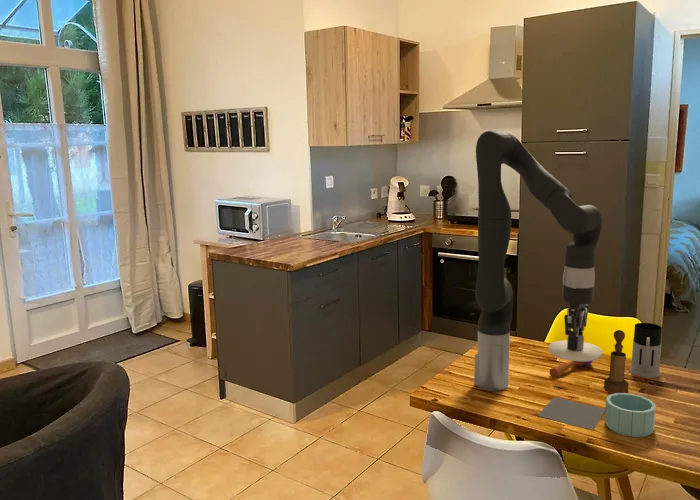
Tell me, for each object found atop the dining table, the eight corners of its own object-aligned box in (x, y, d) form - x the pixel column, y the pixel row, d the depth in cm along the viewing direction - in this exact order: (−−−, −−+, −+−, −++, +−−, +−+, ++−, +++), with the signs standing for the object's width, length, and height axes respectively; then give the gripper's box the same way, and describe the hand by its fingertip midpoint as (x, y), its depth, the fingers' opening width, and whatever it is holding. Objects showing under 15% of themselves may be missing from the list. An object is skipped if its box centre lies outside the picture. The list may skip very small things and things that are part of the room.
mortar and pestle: (630, 395, 165) (634, 334, 162) (606, 393, 166) (610, 333, 163) (624, 385, 172) (628, 327, 168) (601, 384, 173) (604, 326, 170)
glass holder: (660, 369, 183) (663, 323, 180) (662, 386, 171) (665, 337, 168) (629, 365, 187) (632, 320, 184) (629, 381, 174) (632, 334, 172)
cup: (600, 431, 145) (602, 405, 144) (610, 414, 154) (612, 389, 153) (649, 443, 139) (651, 416, 137) (657, 425, 147) (658, 399, 146)
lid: (542, 354, 150) (542, 338, 149) (557, 340, 160) (557, 325, 159) (594, 365, 142) (595, 347, 142) (607, 349, 153) (608, 333, 152)
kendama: (544, 363, 181) (579, 344, 192) (547, 381, 181) (582, 361, 193) (561, 365, 176) (596, 345, 187) (564, 383, 176) (599, 363, 188)
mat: (537, 417, 153) (537, 415, 153) (553, 398, 164) (554, 396, 164) (592, 431, 145) (592, 430, 145) (606, 410, 156) (606, 409, 156)
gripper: (571, 276, 156) (568, 336, 159) (555, 287, 145) (551, 352, 148) (600, 279, 151) (597, 342, 154) (586, 291, 140) (582, 358, 143)
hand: (575, 346), depth 151 cm, fingers closed on lid, 4 cm apart
